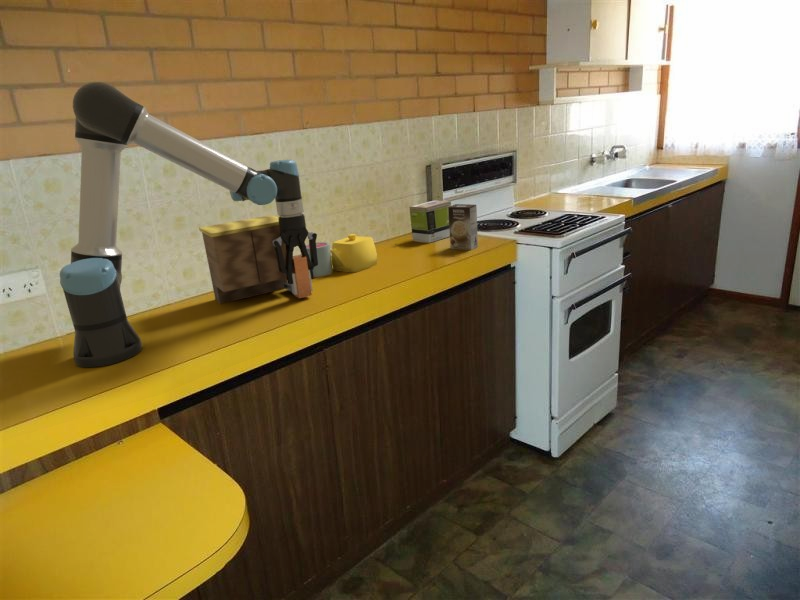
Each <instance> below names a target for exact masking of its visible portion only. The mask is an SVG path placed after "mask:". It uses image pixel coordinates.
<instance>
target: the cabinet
mask: <svg viewBox="0 0 800 600" xmlns="http://www.w3.org/2000/svg"><path fill="white" fill-rule="evenodd" d="M279 217H280V216H276V215H266V216H260V217H253V218H247V219H241V220H236V221H229V222H224V223H217V224H212V225H205V226H200V227H199V231H200V233H201V234H202V238H203V244H204V249H205V254H206V259H207V263H208V268H209V274H210V278H211V279H210V280H211V283H212V289H213V294H214V299H215V301H217V302H218V304H219V305H220V304H224V303H225V304H226V303H229V302H233V301H237V300H242V299H247V298H251V297H254V296H259V295H264V294H268V293H271V292H276V291H280V290H284V289H285V288H284V283H286V282H287V275H286V273H282V272H280V271H279V267H278V261H277V256H276V251H275V247H274V246H273V244H272V240H276V239H277V238H279V236H280V226H279V220H278V218H279ZM281 243H282V244H281V248H282V253H283V258H284V263H285V266H286V244H285V243H284V242H283V241H281ZM285 290H286V289H285Z"/></svg>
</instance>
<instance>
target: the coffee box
mask: <svg viewBox="0 0 800 600" xmlns="http://www.w3.org/2000/svg"><path fill="white" fill-rule="evenodd" d="M448 211H449V229H450V237H449V242H450V243H449V244H450V246H449V247H450V249H451V250H465V251H473V250H474V249H475V248H478V247H479V244H478V243H479V241H478V239H479V236H478V235H479V233H478V215H477V214H478V213H477V204H470V203H469V204H464V203H463V204H462V203H455V204H453V205H452V204H451V206H450V207H448Z"/></svg>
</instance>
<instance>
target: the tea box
mask: <svg viewBox="0 0 800 600" xmlns="http://www.w3.org/2000/svg"><path fill="white" fill-rule="evenodd" d="M450 206H452V201H451V200H435V199H434V200H431V201H427V202H423V203H418V204H416V205H415V204H414V205H410V206H409V207H408V208H409V216H410V226H411V237H412V241H413V242H418V243H425V244H427V243H428V244H429V243H433V242H434V243H435V242H436V241H440V240H442V239H443V240H444V239H446V238H450V229H449V211H448V207H450Z"/></svg>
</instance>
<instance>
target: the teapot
mask: <svg viewBox="0 0 800 600" xmlns="http://www.w3.org/2000/svg"><path fill="white" fill-rule="evenodd" d="M330 253H331V261H332V268H333V271H338V272H345V273H358V272H361V271H364V270H367V269H370V268H372V267H374V266H377V264H378V254H377V248H376V245H375V242H374V239H373V237H372V236H367V235H366V236H361V235H357V233H356V234H355V233H351V234H347V237H345V238H341V239H339V240H335V241H333V242H332V243H331V249H330Z"/></svg>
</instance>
